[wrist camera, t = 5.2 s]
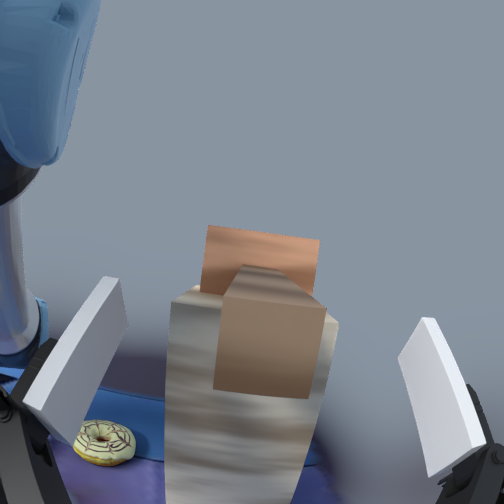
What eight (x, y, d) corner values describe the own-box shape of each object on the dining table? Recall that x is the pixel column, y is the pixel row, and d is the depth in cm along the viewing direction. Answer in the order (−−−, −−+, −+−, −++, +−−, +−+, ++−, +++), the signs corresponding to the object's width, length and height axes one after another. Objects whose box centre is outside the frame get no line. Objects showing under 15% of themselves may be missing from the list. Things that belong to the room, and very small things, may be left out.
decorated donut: (146, 466, 34) (145, 449, 34) (80, 473, 28) (76, 456, 28) (124, 429, 43) (123, 413, 43) (68, 433, 36) (65, 416, 36)
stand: (270, 550, 21) (339, 323, 21) (168, 538, 21) (171, 301, 20) (267, 500, 31) (312, 300, 31) (182, 489, 31) (196, 285, 30)
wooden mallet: (402, 398, 9) (436, 225, 8) (108, 366, 8) (125, 180, 8) (303, 299, 31) (311, 241, 30) (206, 286, 30) (213, 228, 30)
